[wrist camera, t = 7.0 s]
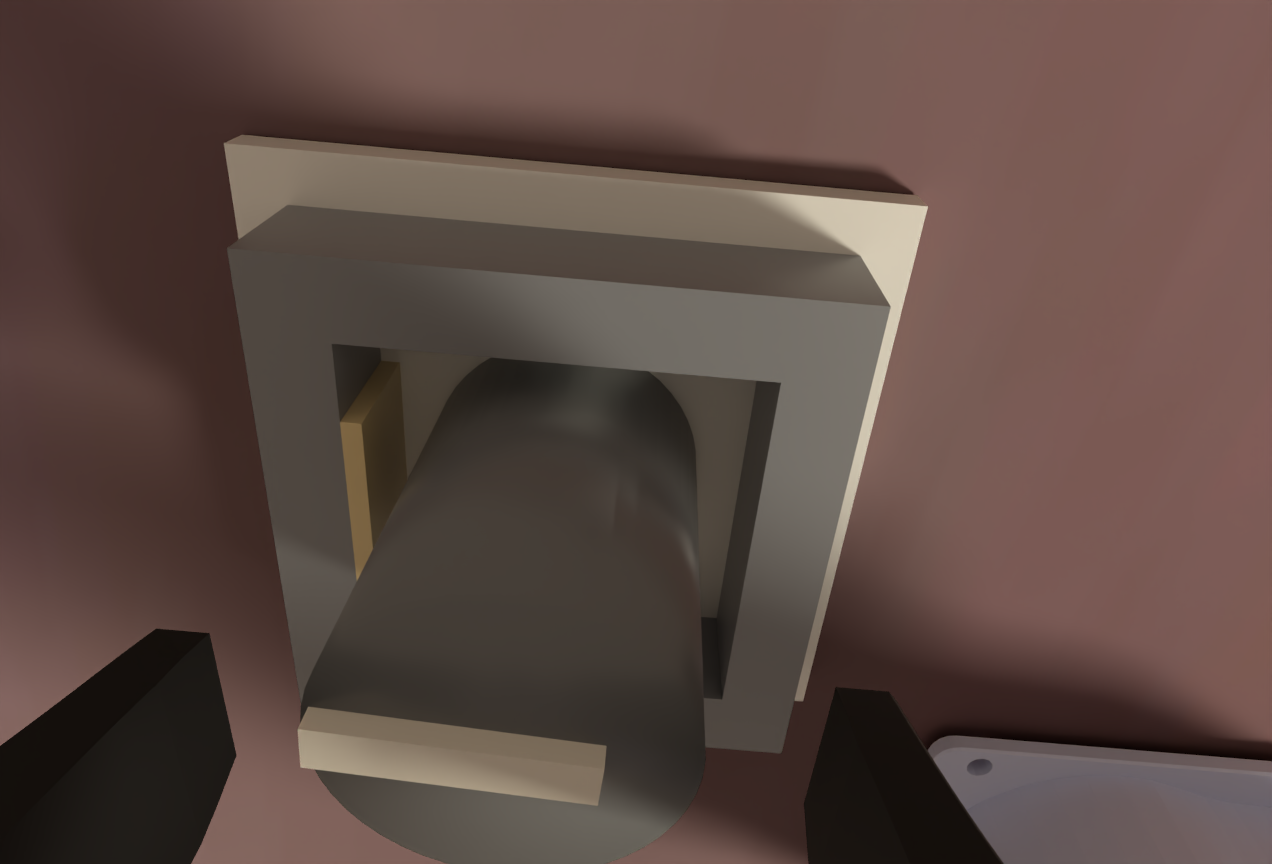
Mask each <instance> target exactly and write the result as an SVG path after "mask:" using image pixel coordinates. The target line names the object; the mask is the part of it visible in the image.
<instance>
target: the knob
mask: <svg viewBox="0 0 1272 864" xmlns="http://www.w3.org/2000/svg"><path fill="white" fill-rule="evenodd" d="M298 741H299V753H300V766H301V768H309V769H315V771H316V773H317V774H318V776H319V778H320V779H321V781H322V782H323V783H324V785H325V786H326V787H327V789H328V790H329V791H330V793H331V794H332V795H333V796H334V797H335V798H336V799H337V800H338V801H339V802H340V803H341V804H342V805H343V806H344V807H345V808H346V809H347V810H348V811H349V812H350V813H351V814H353V815H354V816H355V817H356V818H357V819H359V820H360V821H361V822H362V823H364V824H365V825H367V826H368V827H370V828H371V829H373V830H374V831H376V832H377V833H379V834H380V835H382V836H384V837H385V838H387V839H389V840H391V841H393V842H395V843H397V844H398V845H400V846H402V847H405V848H407V849H409V850H412V851H414V852H416V853H419V854H421V855H423V856H426V857H429V858H432V859H435V860H438V861H441V862H444V863H448V864H606V863H609V862H612V861H614V860H617V859H620V858H622V857H625V856H627V855H629V854H631V853H633V852H635V851H637V850H639V849H641V848H643V847H645V846H646V845H648V844H650V843H651V842H653V841H654V840H656V839H657V838H659V837H660V836H661V835H663V834H664V833H665V832H666V831H667V830H668V829H669V828H671V827H672V826H673V825H674V824H675V823H676V822H677V821H678V820H679V818H680V817H681V816H682V815H683V814H684V812H685V811H686V810H687V809H688V807H689V805H690V804H691V802H692V800H693V799H694V797H695V795H696V793H697V791H698V788H699V786H700V783H701V780H702V778H703V772H704V766H705V760H706V756H705V721H704V691H703V660H702V630H701V600H700V569H699V539H698V508H697V478H696V449H695V444H694V438H693V434H692V431H691V428H690V425H689V422H688V420H687V418H686V416H685V414H684V412H683V410H682V408H681V406H680V405H679V403H678V402H677V400H676V399H675V398H674V396H673V395H672V393H671V392H670V391H669V390H668V389H667V388H666V387H665V386H664V385H663V384H662V382H661V381H660V380H658V379H657V378H656V377H655V376H654V375H652V374H651V373H650V372H649V371H640V370H629V369H617V368H606V367H594V366H582V365H571V364H559V363H548V362H536V361H525V360H513V359H502V358H489V359H488V360H486V361H484V362H483V363H481V364H479V365H478V366H477V367H476V368H474V369H473V370H472V371H471V372H470V373H468V374H467V375H466V376H465V377H464V378H463V380H462V381H461V382H460V383H459V384H458V385H457V386H456V387H455V389H454V391H453V392H452V394H451V395H450V397H449V398H448V400H447V402H446V404H445V406H444V408H443V410H442V412H441V414H440V416H439V418H438V420H437V422H436V424H435V426H434V428H433V430H432V432H431V434H430V436H429V438H428V440H427V442H426V444H425V446H424V448H423V450H422V452H421V454H420V456H419V458H418V460H417V462H416V464H415V466H414V468H413V470H412V472H411V474H410V476H409V478H408V480H407V482H406V484H405V486H404V488H403V490H402V492H401V494H400V496H399V498H398V500H397V502H396V504H395V506H394V508H393V510H392V512H391V514H390V516H389V518H388V520H387V522H386V524H385V526H384V528H383V530H382V532H381V534H380V536H379V538H378V540H377V542H376V544H375V546H374V548H373V550H372V552H371V554H370V556H369V558H368V560H367V562H366V564H365V566H364V568H363V570H362V572H361V574H360V576H359V578H358V580H357V582H356V584H355V586H354V588H353V590H352V592H351V594H350V596H349V598H348V600H347V602H346V604H345V606H344V608H343V610H342V612H341V614H340V616H339V618H338V620H337V622H336V624H335V626H334V628H333V630H332V632H331V634H330V636H329V638H328V640H327V642H326V644H325V646H324V648H323V650H322V652H321V654H320V656H319V658H318V660H317V662H316V664H315V666H314V668H313V670H312V673H311V675H310V677H309V679H308V682H307V684H306V686H305V689H304V694H303V698H302V703H301V720H300V725H299V727H298Z"/></svg>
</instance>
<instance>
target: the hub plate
mask: <svg viewBox="0 0 1272 864" xmlns="http://www.w3.org/2000/svg"><path fill="white" fill-rule="evenodd" d="M224 148H225V155H226V161H227V168H228V174H229V181H230V187H231V193H232V200H233V206H234V213H235V219H236V226H237V232H238V239H239V240H237V241H236V242H235V243H233V244H232V245H230V246H229V247H228V248H227V253H228V259H229V265H230V271H231V277H232V284H233V290H234V296H235V302H236V308H237V314H238V320H239V327H240V333H241V339H242V345H243V351H244V357H245V363H246V370H247V376H248V382H249V388H250V394H251V400H252V406H253V413H254V419H255V425H256V431H257V437H258V443H259V449H260V456H261V462H262V468H263V474H264V480H265V486H266V492H267V499H268V505H269V511H270V517H271V523H272V529H273V535H274V542H275V548H276V554H277V560H278V566H279V572H280V578H281V585H282V591H283V597H284V603H285V609H286V615H287V621H288V628H289V634H290V640H291V646H292V652H293V658H294V664H295V671H296V677H297V683H298V689H299V695H300V701H301V703H302V698H303V694H304V689H305V686H306V684H307V682H308V679H309V677H310V675H311V673H312V670H313V668H314V666H315V664H316V662H317V660H318V658H319V656H320V654H321V652H322V650H323V648H324V646H325V644H326V642H327V640H328V638H329V636H330V634H331V632H332V630H333V628H334V626H335V624H336V622H337V620H338V618H339V616H340V614H341V612H342V610H343V608H344V606H345V604H346V602H347V600H348V598H349V596H350V594H351V592H352V590H353V588H354V586H355V584H356V582H357V580H358V578H359V576H360V574H361V572H362V570H363V568H364V566H365V564H366V562H367V560H368V558H369V556H370V554H371V552H372V550H373V548H374V546H375V544H376V542H377V540H378V538H379V536H380V534H381V532H382V530H383V528H384V526H385V524H386V522H387V520H388V518H389V516H390V514H391V512H392V510H393V508H394V506H395V504H396V502H397V500H398V498H399V496H400V494H401V492H402V490H403V488H404V486H405V484H406V482H407V480H408V478H409V476H410V474H411V472H412V470H413V468H414V466H415V464H416V462H417V460H418V458H419V456H420V454H421V452H422V450H423V448H424V446H425V444H426V442H427V440H428V438H429V436H430V434H431V432H432V430H433V428H434V426H435V424H436V422H437V420H438V418H439V416H440V414H441V412H442V410H443V408H444V406H445V404H446V402H447V400H448V398H449V397H450V395H451V394H452V392H453V391H454V389H455V387H456V386H457V385H458V384H459V383H460V382H461V381H462V380H463V378H464V377H465V376H466V375H467V374H468V373H470V372H471V371H472V370H473V369H474V368H476V367H477V366H478V365H479V364H481V363H483V362H484V361H486V360H488V359H489V358H502V359H513V360H525V361H536V362H548V363H559V364H571V365H582V366H594V367H606V368H617V369H629V370H640V371H649V372H650V373H651V374H652V375H654V376H655V377H656V378H657V379H658V380H660V381H661V382H662V384H663V385H664V386H665V387H666V388H667V389H668V390H669V391H670V392H671V393H672V395H673V396H674V398H675V399H676V400H677V402H678V403H679V405H680V406H681V408H682V410H683V412H684V414H685V416H686V418H687V420H688V422H689V425H690V428H691V431H692V434H693V438H694V444H695V449H696V478H697V508H698V539H699V569H700V600H701V630H702V660H703V691H704V721H705V747H708V748H720V749H732V750H745V751H757V752H769V753H782V749H783V745H784V741H785V737H786V733H787V729H788V724H789V720H790V716H791V712H792V708H793V704H794V701H803V700H804V696H805V692H806V688H807V684H808V680H809V676H810V672H811V668H812V664H813V660H814V656H815V652H816V648H817V644H818V640H819V636H820V632H821V628H822V624H823V620H824V616H825V612H826V608H827V605H828V601H829V597H830V593H831V589H832V585H833V581H834V577H835V573H836V569H837V565H838V561H839V557H840V553H841V549H842V545H843V541H844V537H845V533H846V529H847V525H848V521H849V517H850V513H851V509H852V505H853V501H854V498H855V494H856V490H857V486H858V482H859V478H860V474H861V470H862V466H863V462H864V458H865V454H866V450H867V446H868V442H869V438H870V434H871V430H872V426H873V422H874V418H875V414H876V410H877V406H878V402H879V398H880V394H881V391H882V387H883V383H884V379H885V375H886V371H887V367H888V363H889V359H890V355H891V351H892V347H893V343H894V339H895V335H896V331H897V327H898V323H899V319H900V315H901V311H902V307H903V303H904V299H905V295H906V291H907V288H908V284H909V280H910V276H911V272H912V268H913V264H914V260H915V256H916V252H917V248H918V244H919V240H920V236H921V232H922V228H923V224H924V220H925V216H926V212H927V208H928V206H927V205H926V204H925V203H924V202H923V201H922V200H921V199H920V198H919V197H918V196H917V195H907V194H896V193H885V192H874V191H863V190H852V189H841V188H829V187H818V186H807V185H796V184H785V183H774V182H763V181H752V180H740V179H729V178H718V177H707V176H696V175H685V174H674V173H663V172H652V171H640V170H629V169H618V168H607V167H596V166H585V165H574V164H563V163H551V162H540V161H529V160H518V159H507V158H496V157H485V156H474V155H462V154H451V153H440V152H429V151H418V150H407V149H396V148H385V147H373V146H362V145H351V144H340V143H329V142H318V141H307V140H296V139H284V138H273V137H262V136H251V135H240V136H238V137H236V138H234V139H232V140H230V141H227V142H225V143H224Z"/></svg>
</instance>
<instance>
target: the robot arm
mask: <svg viewBox="0 0 1272 864" xmlns="http://www.w3.org/2000/svg"><path fill="white" fill-rule="evenodd" d="M235 758H236V751H235V747H234V742H233V738H232V733H231V729H230V724H229V720H228V715H227V711H226V706H225V702H224V697H223V693H222V688H221V684H220V679H219V675H218V670H217V666H216V661H215V657H214V652H213V648H212V643H211V639H210V634H209V633H199V632H187V631H176V630H164V629H155V630H154V631H153V632H151V633H150V634H148V635H147V636H146V637H144V638H143V639H142V640H140V641H139V642H137V643H136V644H135V645H133V646H132V647H131V648H129V649H128V650H127V651H125V652H124V653H123V654H121V655H120V656H119V657H117V658H116V659H115V660H113V661H112V662H111V663H110V664H108V665H107V666H106V667H104V668H103V669H102V670H100V671H99V672H98V673H96V674H95V675H94V676H93V677H91V678H90V679H89V680H87V681H86V682H85V683H83V684H82V685H81V686H79V687H78V688H77V689H75V690H74V691H73V692H72V693H70V694H69V695H68V696H66V697H65V698H64V699H62V700H61V701H60V702H58V703H57V704H56V705H54V706H53V707H52V708H51V709H49V710H48V711H47V712H45V713H44V714H43V715H41V716H40V717H39V718H37V719H36V720H35V721H33V722H32V723H30V724H29V725H28V726H26V727H25V728H24V729H22V730H21V731H20V732H18V733H17V734H16V735H14V736H13V737H12V738H10V739H9V740H8V741H6V742H5V743H4V744H2V745H1V746H0V864H191V863H192V861H193V859H194V857H195V855H196V853H197V851H198V849H199V847H200V845H201V843H202V841H203V838H204V836H205V834H206V831H207V829H208V826H209V824H210V822H211V819H212V817H213V814H214V812H215V809H216V807H217V805H218V802H219V800H220V797H221V794H222V792H223V789H224V786H225V784H226V781H227V779H228V776H229V773H230V771H231V768H232V765H233V763H234V760H235ZM976 759H977V760H976ZM804 809H805V822H806V836H807V850H808V861H809V864H1272V761H1263V760H1251V759H1239V758H1226V757H1214V756H1202V755H1190V754H1177V753H1165V752H1153V751H1141V750H1129V749H1116V748H1104V747H1092V746H1080V745H1067V744H1055V743H1043V742H1031V741H1018V740H1006V739H994V738H982V737H969V736H957V735H955V736H946V737H943V738H940V739H938V740H937V741H935V742H934V743H933V744H932V745H931V746H930V748H929V749H928V751H927V749H926V748H925V746H924V744H923V743H922V741H921V740H920V738H919V737H918V735H917V733H916V732H915V730H914V729H913V727H912V725H911V724H910V722H909V721H908V719H907V717H906V716H905V714H904V713H903V711H902V709H901V708H900V706H899V705H898V703H897V701H896V700H895V699H894V698H893V696H892V695H891V694H890V693H889V692H884V691H873V690H861V689H849V688H838V687H836V689H835V693H834V696H833V700H832V704H831V707H830V711H829V715H828V718H827V722H826V725H825V729H824V733H823V736H822V740H821V744H820V747H819V751H818V755H817V758H816V762H815V766H814V769H813V773H812V777H811V780H810V784H809V787H808V791H807V795H806V798H805V802H804Z"/></svg>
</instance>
